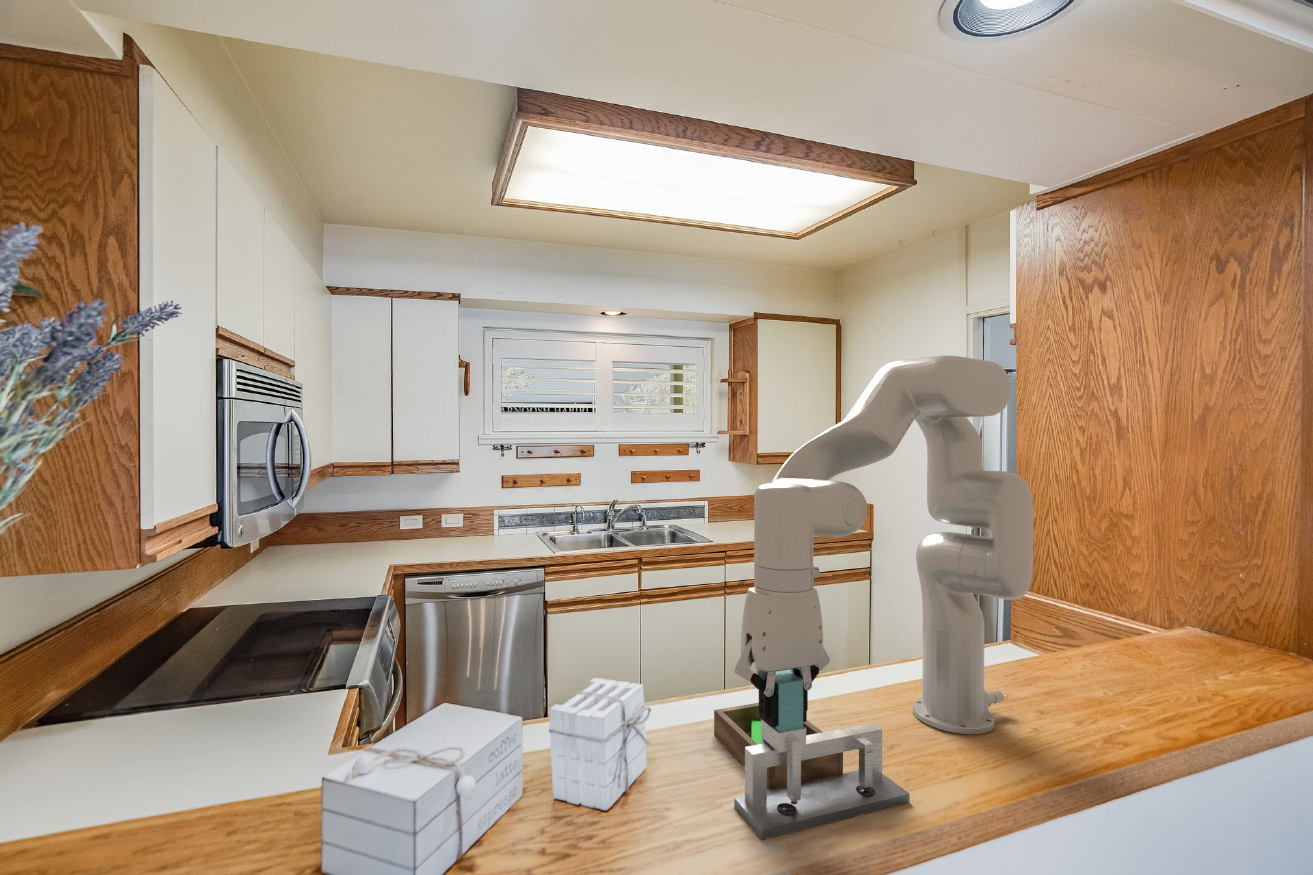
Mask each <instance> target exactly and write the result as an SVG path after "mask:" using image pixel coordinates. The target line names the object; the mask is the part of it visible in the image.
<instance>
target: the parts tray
mask: <svg viewBox="0 0 1313 875" xmlns="http://www.w3.org/2000/svg"><path fill="white" fill-rule="evenodd" d="M752 721H761V717H760V715H759V702H754V703H749V704H742V705H736V706H730V707H723V708H718V709H713V736H715V738H716V739H717V740H718V741H719V742H720V743H721V744H722V745H723V746H724V747H725V748H726V749H727V750H728V751H729V752H730V753H731V755H733V757H735V758H736V760H738V761H739V762H740V763H741V764H742V765H743V767H745V747H749V746H754V745H758V744H757V743H756V742H755V741H754V740H753V739H752V738H751V736H750V735H748V734H747V733H750V732H751V733H752ZM803 726H804V727H805V728H806V735H812V734H817V733H822V732H823V731H822V730H821V729H819V728H818V727H817V726H815V724H814V723H812V722H810V721H809V720H807V721H806V722H803ZM839 774H844V752H841V753H836V754H831V755H826V756H821V757H817V758H812V759H807V760H802V761H801V783H803V782H808V781H812V780H817V779H821V778H826V777H830V776H835V775H839ZM785 786H787V764H783V765H778V766H773V767H768V768H767V790H772V789H776V788H781V787H785Z"/></svg>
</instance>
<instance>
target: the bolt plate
mask: <svg viewBox="0 0 1313 875" xmlns="http://www.w3.org/2000/svg"><path fill="white" fill-rule="evenodd" d="M910 795H911V794H910V793H909V792H908V791H907V790H905V789H904V788H903V787H902V786H900V785H899V784H897V783H896V782H895V781H893V780H892V779H890V778H889V777H888V776H886V775H885V774H884V773H882V779H881V780H877V781H872V786H871V787H869V789H864V788H863V787H862V785H860V784H859V769H858V770H853V771H849V772H845V773H844V772H843V774H839V775H835V776H830V777H826V778H821V779H817V780H812V781H808V782H803V783H801V800H798V801H797V804H795V805H794V804H791V800H790V799H789V798H788V797H787V786H785V787H781V788H776V789H772V790H767V806H765V807H760V808H756V809H752V808H751V807H750V806H749V805H748V803H747V802H746V801H745V795H741V796H737V797H734V799H733V801H734V802H733V803H734V804H733V806H734V808H735V810H736V811H737V812H738V813H739V814H740V816H741V817H742V818H743V819H744V821H745V822H746V823H747V825H748V826H750V828H751V829H752V830H753V831H754V833H755V834H756V835H757V836H758V837H759V839H760V840H761V841H764V840H769V839H772V838H775V837H781V836H783V835H788V834H791V833H796V832H799V831H803V830H808V829H811V828H816V827H819V826H824V825H827V824H831V823H835V822H840V821H843V820H848V819H852V818H855V817H856V818H857V817H858V816H859V817H860V816H863V815H867V814H871V813H875V812H878V811H883V810H886V809H890V808H894V807H898V806H903V805H906V804H909V803H910V798H911V796H910Z"/></svg>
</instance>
